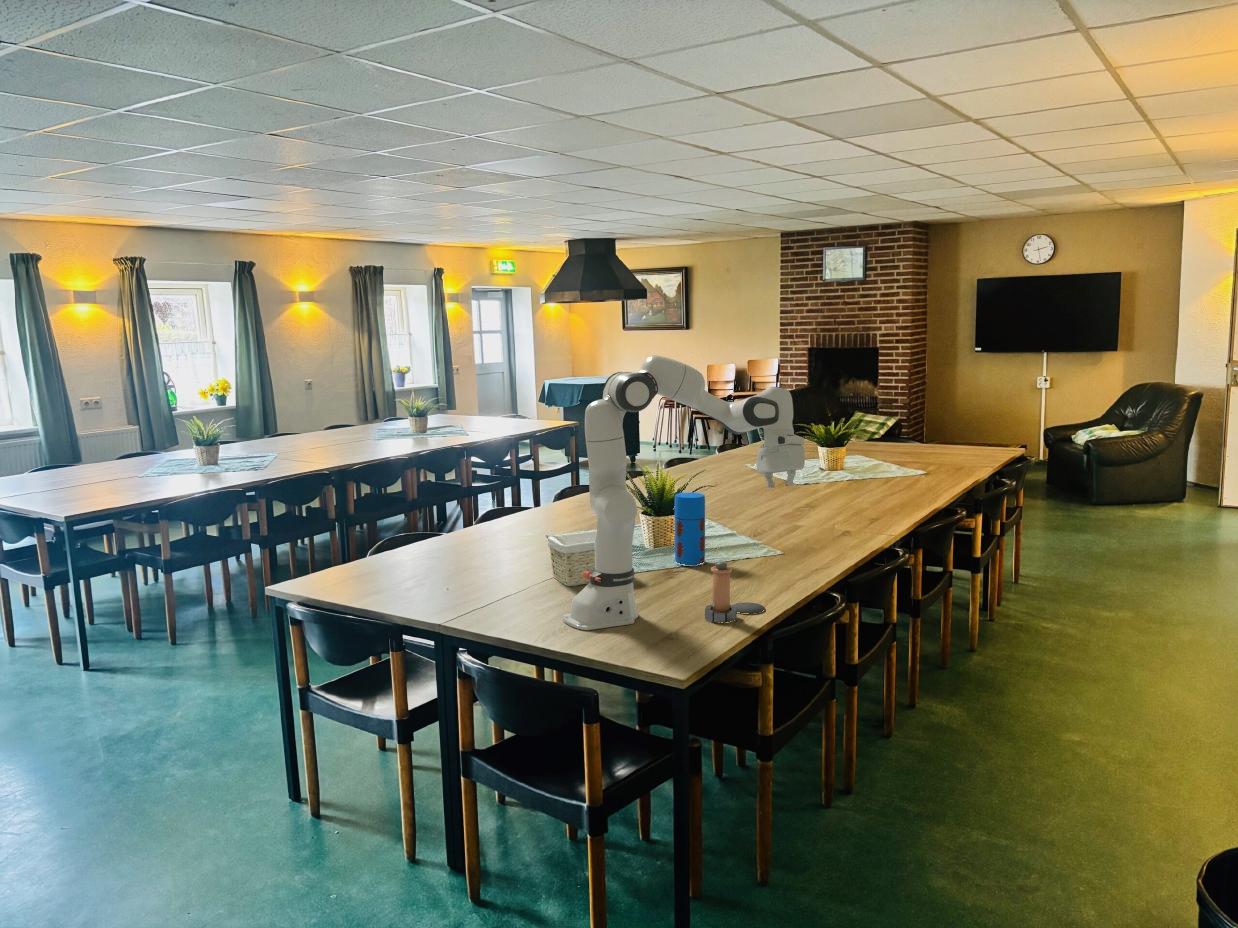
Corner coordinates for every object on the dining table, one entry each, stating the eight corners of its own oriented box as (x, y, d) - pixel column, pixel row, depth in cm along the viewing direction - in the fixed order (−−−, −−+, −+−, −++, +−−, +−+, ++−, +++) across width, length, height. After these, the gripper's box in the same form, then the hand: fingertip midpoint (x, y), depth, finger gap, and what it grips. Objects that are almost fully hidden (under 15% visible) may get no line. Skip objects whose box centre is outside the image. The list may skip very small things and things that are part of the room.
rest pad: (746, 616, 257) (746, 614, 257) (724, 608, 265) (724, 606, 265) (771, 610, 262) (771, 608, 262) (749, 602, 271) (749, 600, 271)
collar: (718, 625, 249) (718, 615, 249) (699, 617, 257) (699, 607, 257) (743, 619, 254) (743, 609, 254) (723, 611, 262) (723, 601, 261)
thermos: (668, 563, 318) (668, 495, 315) (688, 557, 326) (688, 491, 322) (691, 568, 310) (691, 499, 307) (711, 562, 318) (711, 494, 314)
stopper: (719, 623, 252) (719, 566, 249) (706, 617, 257) (706, 562, 254) (735, 619, 255) (736, 563, 252) (722, 613, 260) (722, 559, 257)
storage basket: (564, 588, 288) (563, 544, 286) (547, 577, 303) (545, 535, 301) (630, 579, 298) (629, 536, 296) (610, 568, 313) (609, 527, 311)
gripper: (751, 444, 273) (751, 488, 271) (790, 437, 254) (791, 484, 253) (768, 445, 275) (769, 489, 274) (808, 438, 257) (809, 485, 255)
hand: (780, 487), depth 263 cm, fingers open, 8 cm apart
